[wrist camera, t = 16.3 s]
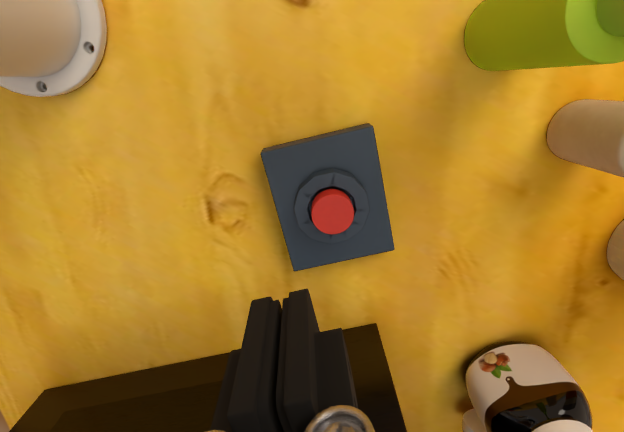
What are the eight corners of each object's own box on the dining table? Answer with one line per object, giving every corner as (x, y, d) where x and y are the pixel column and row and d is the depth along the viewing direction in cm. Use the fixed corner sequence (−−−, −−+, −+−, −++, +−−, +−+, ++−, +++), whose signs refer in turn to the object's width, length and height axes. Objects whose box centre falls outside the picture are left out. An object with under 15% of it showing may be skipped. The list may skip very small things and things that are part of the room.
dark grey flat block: (263, 148, 34) (257, 156, 30) (368, 122, 33) (376, 128, 30) (294, 260, 38) (293, 280, 34) (389, 240, 37) (398, 257, 34)
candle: (533, 130, 34) (621, 149, 24) (586, 85, 32) (699, 86, 23) (566, 171, 35) (660, 203, 26) (617, 129, 34) (737, 147, 24)
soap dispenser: (468, 90, 33) (688, 101, 14) (460, 5, 30) (710, -123, 11) (535, 73, 32) (857, 60, 13) (532, -16, 30) (916, -183, 11)
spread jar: (537, 326, 41) (620, 414, 30) (554, 397, 45) (634, 499, 34) (434, 359, 43) (478, 455, 32) (459, 426, 46) (506, 532, 35)
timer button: (307, 193, 32) (307, 199, 30) (347, 184, 32) (349, 190, 30) (316, 230, 33) (316, 238, 31) (355, 222, 33) (357, 229, 31)
